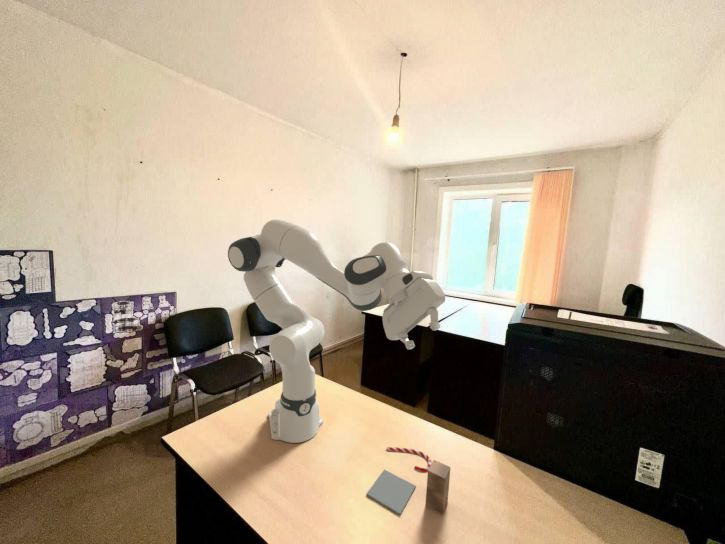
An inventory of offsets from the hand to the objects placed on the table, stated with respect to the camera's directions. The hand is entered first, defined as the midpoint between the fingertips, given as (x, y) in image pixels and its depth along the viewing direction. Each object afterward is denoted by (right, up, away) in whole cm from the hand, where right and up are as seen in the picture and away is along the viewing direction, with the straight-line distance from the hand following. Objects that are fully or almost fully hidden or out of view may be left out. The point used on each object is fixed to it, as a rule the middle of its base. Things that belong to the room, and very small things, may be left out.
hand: (423, 339), depth 69 cm
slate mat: (-7, -44, +10) cm, 46 cm away
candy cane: (0, -44, +22) cm, 49 cm away
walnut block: (+5, -45, +7) cm, 46 cm away
